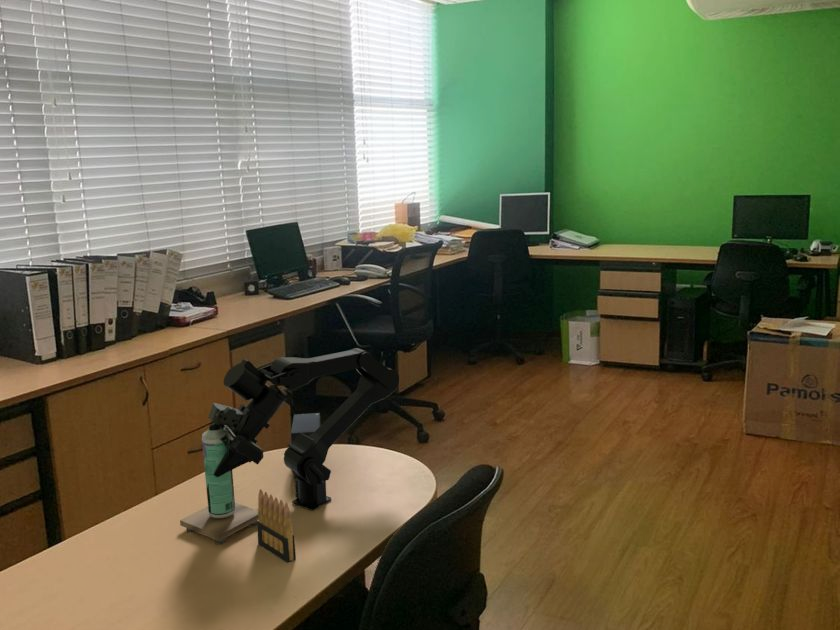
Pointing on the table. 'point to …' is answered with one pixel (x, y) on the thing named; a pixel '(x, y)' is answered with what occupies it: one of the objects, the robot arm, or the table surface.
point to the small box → (304, 425)
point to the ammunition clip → (275, 527)
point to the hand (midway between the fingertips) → (211, 470)
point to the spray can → (217, 487)
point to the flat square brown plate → (220, 522)
